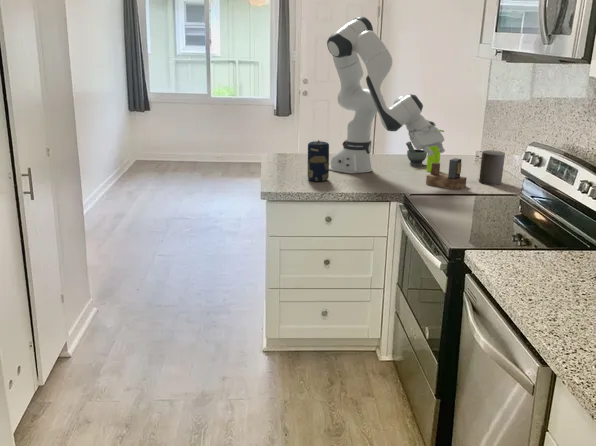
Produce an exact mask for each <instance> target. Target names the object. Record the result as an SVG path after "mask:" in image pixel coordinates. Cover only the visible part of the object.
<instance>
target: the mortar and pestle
mask: <svg viewBox="0 0 596 446" xmlns="http://www.w3.org/2000/svg"><path fill="white" fill-rule="evenodd" d="M405 145H406V146H407V149H408V150H406V156H407V158H408V160H409V161H410V162H409V165H410V166H413V167H421V166H423V162H424V161H425V160H426V158H427V157H428V153H426V152H425V151H424V150H423V149H420V150H417V149H416V148H415V147H414V145H413V144H412V142H411V140H410V141H407V142H406V143H405Z"/></svg>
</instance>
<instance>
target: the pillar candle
mask: <svg viewBox="0 0 596 446" xmlns="http://www.w3.org/2000/svg"><path fill="white" fill-rule="evenodd" d="M505 157H506V153H505V152H504V151H500V150H495V149H493V150H492V149H491V150H482V153H481V161H480V168H479V169H480V171H479V178H478V179H479V181H478V182H479V184H483V185H488V186H489V185H490V186H499V185H501V184H502V182H503V181H502V180H503V179H502V178H503V175H504V174H503V172H504V163H505Z"/></svg>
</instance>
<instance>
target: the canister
mask: <svg viewBox="0 0 596 446" xmlns="http://www.w3.org/2000/svg"><path fill="white" fill-rule="evenodd" d="M329 164H330V144H329V142H327V141H323V140H322V141H321V140H319V139H318V140H316V141H315V140H314V141H310V142H308V143H307V179H308V180H310V181H313V182H325V181H327V180H328V179H329V176H330V174H329V171H330V170H329Z"/></svg>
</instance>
